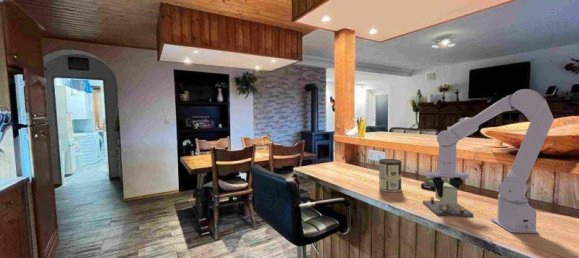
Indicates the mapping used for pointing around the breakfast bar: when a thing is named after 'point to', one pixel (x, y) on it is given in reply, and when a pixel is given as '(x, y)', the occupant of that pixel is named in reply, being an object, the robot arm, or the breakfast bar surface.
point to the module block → (448, 194)
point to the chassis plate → (447, 209)
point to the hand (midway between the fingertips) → (446, 196)
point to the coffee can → (390, 175)
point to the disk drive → (431, 185)
